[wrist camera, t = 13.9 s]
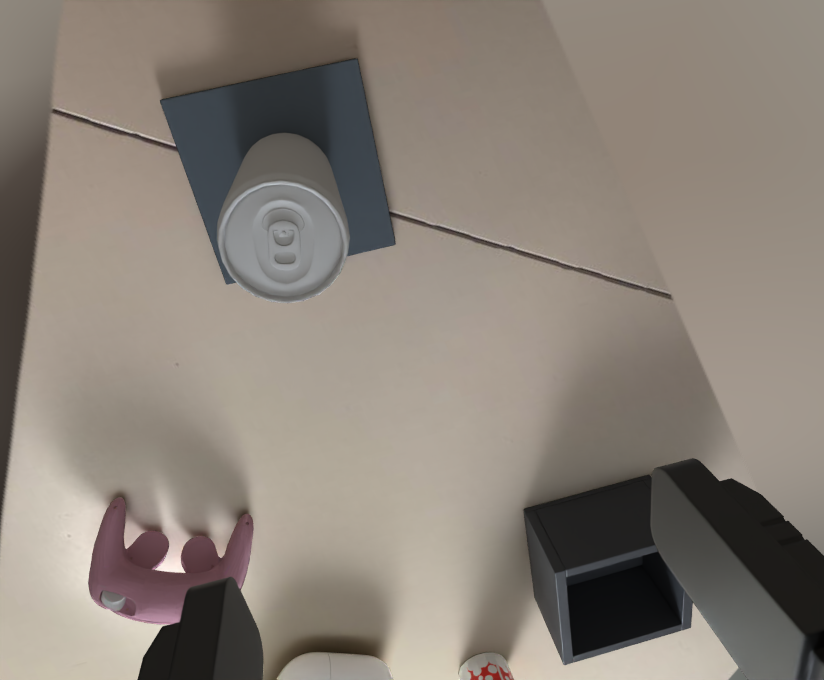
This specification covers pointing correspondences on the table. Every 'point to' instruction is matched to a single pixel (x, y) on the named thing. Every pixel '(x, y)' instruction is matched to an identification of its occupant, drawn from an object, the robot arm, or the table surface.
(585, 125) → the table surface
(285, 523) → the table surface
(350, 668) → the earbud case
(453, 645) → the table surface
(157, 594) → the video game controller
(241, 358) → the table surface
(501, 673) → the beverage cup
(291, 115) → the mat
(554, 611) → the bin
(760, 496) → the robot arm
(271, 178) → the beverage can
